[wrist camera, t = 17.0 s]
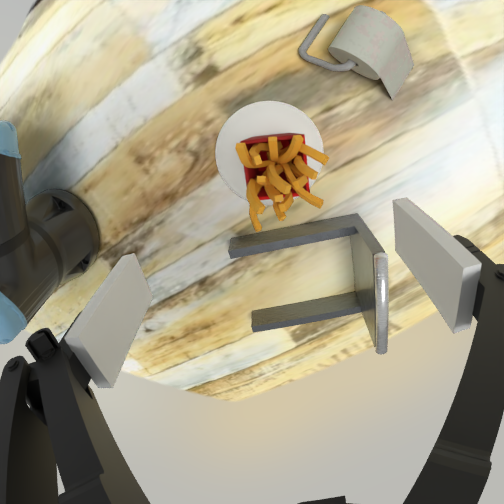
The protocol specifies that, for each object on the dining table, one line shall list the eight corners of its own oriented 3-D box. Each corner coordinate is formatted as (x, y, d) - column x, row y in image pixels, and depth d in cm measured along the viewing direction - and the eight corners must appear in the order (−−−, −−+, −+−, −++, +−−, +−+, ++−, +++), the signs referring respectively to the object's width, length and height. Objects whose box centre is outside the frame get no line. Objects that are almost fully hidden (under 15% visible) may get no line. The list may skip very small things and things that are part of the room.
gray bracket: (254, 316, 53) (251, 378, 41) (231, 238, 47) (219, 291, 35) (364, 295, 51) (388, 352, 38) (357, 213, 44) (389, 258, 32)
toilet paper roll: (384, 114, 38) (360, 78, 28) (322, 81, 42) (283, 45, 32) (418, 57, 34) (403, 9, 24) (355, 29, 38) (324, -16, 28)
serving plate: (231, 212, 45) (230, 214, 44) (204, 115, 39) (203, 115, 38) (330, 192, 43) (331, 194, 43) (310, 91, 37) (311, 91, 37)
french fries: (243, 130, 39) (232, 147, 26) (308, 123, 38) (332, 136, 25) (252, 195, 43) (247, 243, 30) (314, 188, 42) (337, 234, 29)
